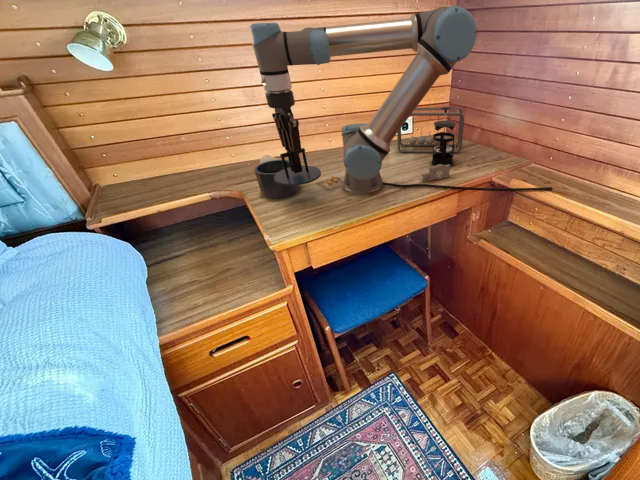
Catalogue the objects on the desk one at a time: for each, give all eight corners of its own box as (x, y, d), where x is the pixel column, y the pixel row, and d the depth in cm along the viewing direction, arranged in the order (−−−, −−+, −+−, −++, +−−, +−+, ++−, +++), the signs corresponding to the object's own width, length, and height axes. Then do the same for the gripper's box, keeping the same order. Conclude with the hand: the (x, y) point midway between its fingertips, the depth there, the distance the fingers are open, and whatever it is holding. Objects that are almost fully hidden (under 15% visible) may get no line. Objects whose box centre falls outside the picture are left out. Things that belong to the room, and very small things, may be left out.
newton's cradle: (397, 153, 157) (396, 113, 146) (399, 145, 165) (398, 107, 154) (460, 153, 155) (464, 113, 144) (459, 146, 163) (462, 107, 152)
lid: (329, 178, 108) (325, 151, 102) (287, 191, 101) (280, 163, 95) (308, 165, 117) (302, 140, 112) (267, 177, 110) (259, 150, 104)
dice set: (333, 180, 134) (333, 175, 133) (340, 183, 131) (340, 179, 130) (322, 183, 131) (322, 179, 130) (329, 187, 128) (329, 183, 127)
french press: (454, 167, 142) (459, 110, 127) (432, 168, 142) (434, 110, 128) (451, 158, 151) (455, 103, 137) (430, 158, 151) (432, 103, 137)
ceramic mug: (276, 180, 135) (271, 161, 130) (261, 176, 138) (256, 158, 133) (294, 171, 142) (290, 153, 137) (280, 168, 145) (276, 150, 140)
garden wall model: (422, 182, 131) (423, 167, 127) (420, 180, 132) (421, 166, 128) (449, 177, 134) (450, 163, 130) (447, 175, 135) (448, 161, 131)
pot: (306, 192, 125) (300, 166, 119) (270, 204, 118) (263, 177, 112) (290, 181, 134) (284, 156, 127) (256, 191, 127) (248, 166, 120)
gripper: (256, 89, 95) (277, 168, 110) (276, 96, 87) (296, 181, 101) (280, 85, 99) (297, 162, 114) (302, 92, 90) (318, 174, 105)
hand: (297, 171), depth 107 cm, fingers closed on lid
